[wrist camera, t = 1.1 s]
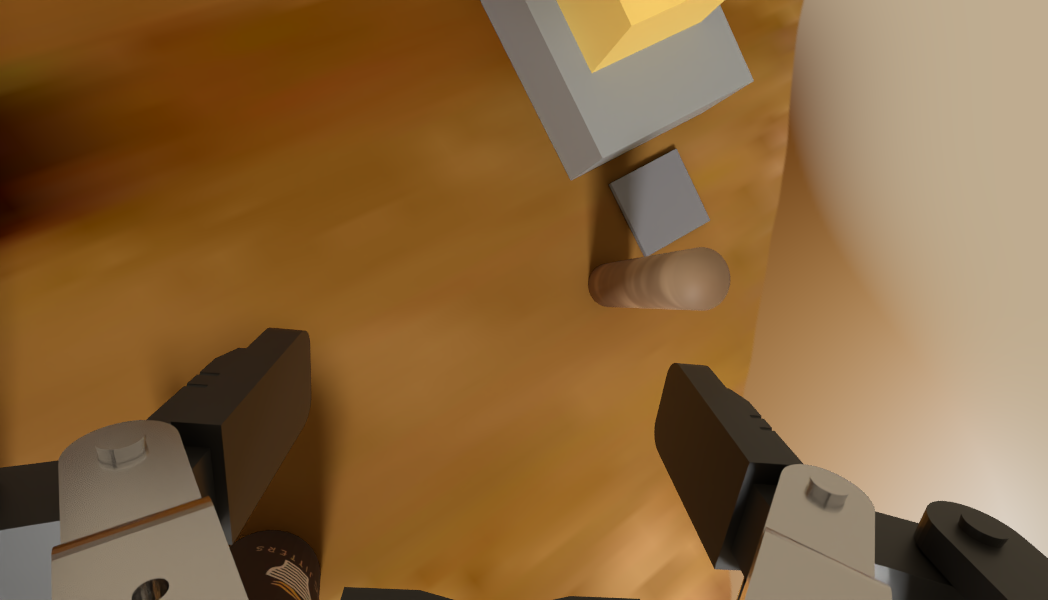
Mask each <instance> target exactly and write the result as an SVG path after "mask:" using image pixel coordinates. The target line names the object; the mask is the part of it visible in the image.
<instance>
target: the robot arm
mask: <svg viewBox="0 0 1048 600" xmlns="http://www.w3.org/2000/svg"><path fill="white" fill-rule="evenodd" d="M310 405H311V363H310V339H309V335H308V333H307V331H302V330H291V329H279V328H267V329H266V330H265V331H264V332H263V333H262V334H261V335H260V336H259V337H258V338H257V339H256V340H255V341H254V342H253V343H251V344H250V345H249V346H248V347H247V348H237V349H235V350H233V351H231V352H229V353H226V354H224V355H222V356H220V357H217V358H215V359H214V360H213V361H212V362H211V363H210V364H209V365H207V366H206V367H205V368H204V369H203V370H202V371H201V372H200V375H196V376H195V377H194V378H193V379H192V380H191V381H189V382H188V383H187V386H184V387H183V388H182V389H180V390H179V391H178V392H177V393H176V394H175V395H174V396H173V397H171V398H170V399H169V400H168V401H167V402H166V403H165V404H164V405H162V406H161V407H160V408H159V409H158V410H157V411H156V412H155V413H153V414H152V415H151V416H150V417H149V418H148V419H147V420H136V421H128V422H123V423H118V424H114V425H110V426H107V427H104V428H101V429H98V430H96V431H93V432H91V433H89V434H87V435H85V436H83V437H81V438H79V439H78V440H76V441H75V442H73V443H72V444H71V445H70V446H68V447H67V448H66V449H65V450H64V452H63V453H62V454H61V456H60V458H59V461H52V462H44V463H36V464H28V465H20V466H11V467H3V468H0V600H248V597H247V594H246V592H245V589H244V586H243V584H242V581H241V578H240V575H239V573H238V570H237V567H236V565H235V562H234V559H233V557H232V554H231V551H230V548H229V546H228V545H233V543H234V542H235V540H236V538H237V537H238V535H239V533H240V532H241V530H242V528H243V527H244V525H245V523H246V522H247V520H248V518H249V517H250V515H251V513H252V512H253V510H254V508H255V507H256V505H257V503H258V502H259V500H260V498H261V497H262V495H263V493H264V492H265V490H266V488H267V487H268V485H269V483H270V482H271V480H272V478H273V477H274V475H275V473H276V472H277V470H278V468H279V467H280V465H281V463H282V462H283V460H284V458H285V457H286V455H287V453H288V452H289V450H290V449H291V447H292V445H293V444H294V442H295V440H296V439H297V437H298V435H299V434H300V432H301V430H302V429H303V427H304V425H305V423H306V421H307V418H308V415H309V410H310ZM655 444H656V448H657V450H658V453H659V455H660V457H661V459H662V461H663V463H664V465H665V467H666V469H667V471H668V473H669V475H670V478H671V480H672V482H673V484H674V486H675V488H676V490H677V492H678V494H679V496H680V498H681V500H682V502H683V505H684V507H685V509H686V511H687V513H688V515H689V517H690V519H691V521H692V523H693V525H694V527H695V529H696V531H697V534H698V536H699V538H700V540H701V542H702V544H703V546H704V548H705V550H706V552H707V554H708V556H709V558H710V561H711V563H712V565H713V567H714V569H723V570H741V571H742V573H743V575H744V579H743V582H742V585H741V587H740V590H739V593H738V596H737V599H736V600H1048V558H1047V557H1046V556H1044V555H1043V554H1042V553H1041V552H1040V551H1039V550H1037V549H1036V548H1035V547H1034V546H1033V545H1032V544H1030V543H1029V542H1028V541H1027V540H1025V538H1023V537H1022V536H1021V535H1019V534H1018V533H1017V532H1016V531H1014V530H1013V529H1011V528H1010V527H1008V526H1007V525H1005V524H1004V523H1002V522H1000V521H999V520H997V519H995V518H993V517H991V516H989V515H987V514H985V513H983V512H981V511H978V510H976V509H973V508H971V507H968V506H965V505H962V504H957V503H953V502H947V501H936V502H932V503H930V504H929V505H928V506H927V508H926V510H925V512H924V514H923V516H922V518H921V520H920V522H919V523H915V522H912V521H908V520H904V519H900V518H897V517H893V516H890V515H886V514H882V513H879V512H875V509H874V506H873V504H872V502H871V500H870V499H869V497H868V496H867V495H866V494H865V493H864V492H863V491H862V490H860V489H859V488H858V487H857V486H856V485H854V484H853V483H851V482H850V481H848V480H846V479H845V478H843V477H841V476H839V475H837V474H835V473H833V472H831V471H828V470H825V469H823V468H819V467H816V466H811V465H804V464H803V463H802V462H801V461H800V460H799V459H798V457H797V456H796V455H795V454H794V453H793V452H792V450H791V449H790V448H789V447H788V446H787V445H786V444H785V442H784V441H783V440H782V439H781V438H780V437H779V436H778V434H777V433H776V432H775V431H772V428H771V427H770V425H769V424H768V423H767V422H766V421H765V420H764V419H761V415H760V414H759V413H758V412H757V410H756V409H754V407H753V406H752V405H751V404H750V403H749V402H748V401H747V400H745V399H744V398H743V397H741V396H740V395H738V394H737V393H735V392H733V391H732V390H730V389H727V388H726V387H725V386H724V385H723V383H722V382H721V381H720V380H719V379H718V377H717V376H716V375H715V374H714V373H713V371H712V370H711V369H710V368H709V367H708V366H704V365H692V364H680V363H673V364H672V365H671V366H670V368H669V370H668V373H667V377H666V381H665V385H664V389H663V393H662V397H661V401H660V405H659V409H658V414H657V418H656V422H655ZM341 600H453V599H449V598H446V597H442V596H439V595H435V594H432V593H428V592H424V591H421V590H401V589H377V588H351V587H344V590H343V594H342V597H341ZM555 600H640V599H627V598H602V597H577V596H569V597H564V598H559V599H555Z"/></svg>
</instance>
